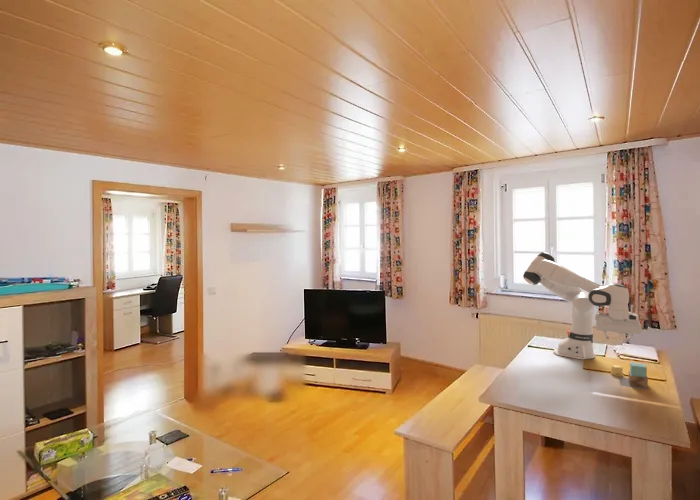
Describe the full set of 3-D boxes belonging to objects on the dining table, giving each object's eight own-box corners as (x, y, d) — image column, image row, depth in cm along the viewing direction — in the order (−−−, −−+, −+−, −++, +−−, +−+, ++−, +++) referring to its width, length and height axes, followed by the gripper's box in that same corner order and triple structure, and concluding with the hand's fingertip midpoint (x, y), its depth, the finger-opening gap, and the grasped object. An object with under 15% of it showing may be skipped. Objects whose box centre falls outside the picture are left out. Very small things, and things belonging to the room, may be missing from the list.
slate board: (620, 387, 197) (620, 385, 197) (618, 378, 208) (618, 376, 208) (648, 391, 192) (648, 389, 192) (644, 382, 203) (644, 380, 203)
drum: (611, 376, 211) (611, 367, 210) (610, 373, 215) (610, 364, 215) (622, 378, 208) (623, 369, 208) (621, 375, 213) (622, 366, 212)
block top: (631, 375, 197) (631, 365, 196) (630, 371, 202) (630, 362, 202) (646, 377, 194) (646, 367, 193) (644, 373, 199) (644, 363, 199)
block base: (630, 385, 197) (630, 375, 197) (628, 380, 203) (628, 371, 203) (647, 388, 193) (647, 378, 193) (645, 383, 199) (645, 373, 199)
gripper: (595, 313, 212) (594, 338, 213) (642, 317, 202) (641, 344, 203) (595, 311, 218) (594, 336, 219) (640, 315, 208) (640, 341, 208)
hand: (617, 340), depth 211 cm, fingers open, 8 cm apart
